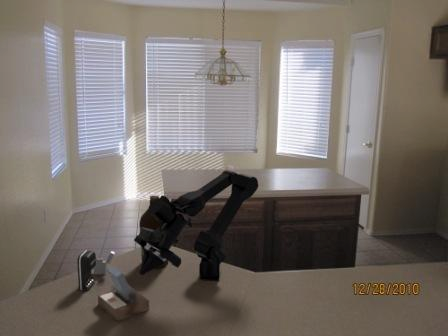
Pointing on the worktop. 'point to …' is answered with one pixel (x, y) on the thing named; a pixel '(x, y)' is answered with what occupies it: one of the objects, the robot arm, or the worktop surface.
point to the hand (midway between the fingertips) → (140, 274)
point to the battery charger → (86, 269)
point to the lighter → (103, 264)
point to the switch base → (132, 307)
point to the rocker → (119, 282)
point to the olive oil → (150, 226)
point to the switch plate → (113, 300)
